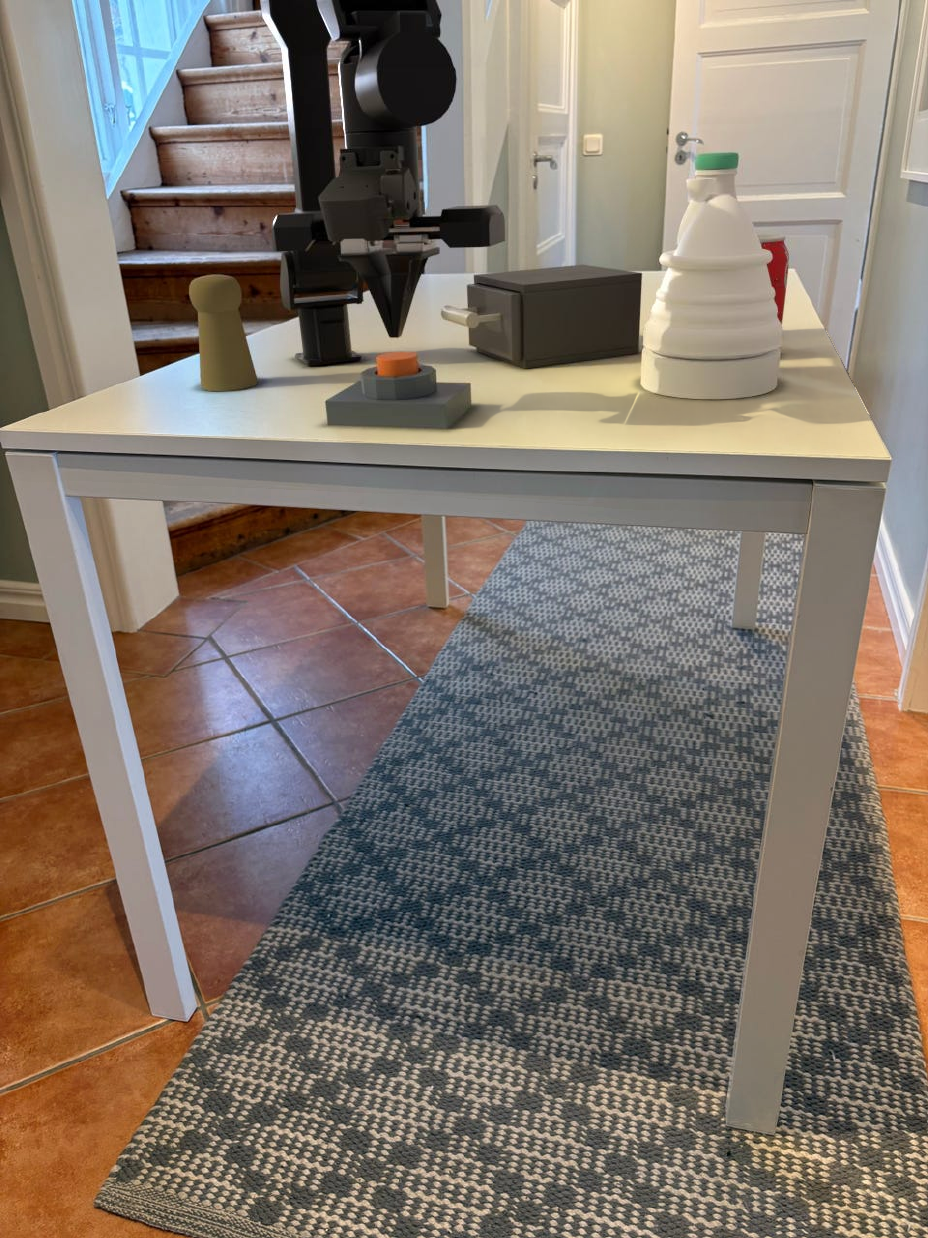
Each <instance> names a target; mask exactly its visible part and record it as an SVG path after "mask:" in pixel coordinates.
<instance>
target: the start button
mask: <svg viewBox="0 0 928 1238" xmlns="http://www.w3.org/2000/svg"><path fill="white" fill-rule="evenodd" d="M375 359H376V367H377V371H378V375H381V376H405V375H412V374H416V373H419V372H418V364H419V358H418V354H417V353H416V352H411V351H393V352H386V353H380V354H378V355H376V358H375Z"/></svg>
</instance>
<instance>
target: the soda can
mask: <svg viewBox="0 0 928 1238" xmlns="http://www.w3.org/2000/svg"><path fill="white" fill-rule="evenodd" d="M757 235H758V238H759V241H760V244H761V247H762V249H765V250H769V251H770V252H771V253H772V257H773V258H772V260H771V262H769V263H767V264H766V265H767V269H768V273H769V277H770V281H771V286H772V287H773V288H774V290H775V297H774V301H775V303H776V305H777V308H778V313H777V318H778V319H779V321H780V323H781V325H782V326H783V320H784V310H785V303H786V295H787V285H788V277H789V276H788V275H789V260H790V254H789V251H788V248H787V246H786V244H785V240H786V236H785V235H779V234H757Z"/></svg>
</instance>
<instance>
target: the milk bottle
mask: <svg viewBox="0 0 928 1238" xmlns="http://www.w3.org/2000/svg"><path fill="white" fill-rule="evenodd" d="M739 158H740V157H739V152H734V151H733V152H731V151H730V152H729V151H728V152H708V153H698V154H696V157H695V163H694V170H695V171H694V172H695V173H694V176H695V179H699V178H716V184H715V188H714V190H713V192H712V194H730V195H731V196H732V197H734V198H735V199H737V200H738V197H737V193H736V187H735V179H736V175H737V174H738V167H739ZM705 203H706V202H701V203H698V202H695V201H694V200H692V198H691V199H690V201H689V204H688V205H687V208H686V210H685V212H684V214H683V217H682V219H681V221H680V224H679V227H678V231H677V237H676V247H675V250H676V249H677V246H678V244H679V242H680V240H681V238H682V236H683V234H684V232H685V230H686V229H687V227H688V225H689V223H690V222H691V220H692V219H693V217H694V216H695V214H696V213H697V212H698V210H699V209H700V208H701V207H702V206H703V205H704V204H705Z"/></svg>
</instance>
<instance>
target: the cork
mask: <svg viewBox="0 0 928 1238" xmlns="http://www.w3.org/2000/svg"><path fill="white" fill-rule="evenodd" d="M188 287H189V288H188V295H189V299H190V302H191V305H192V306H193V307H194V308H195V310H196V311H197V323H198V325H197V326H198V346H199V347H198V348H199V370H200V371H199V372H200V374H199V375H200V389H201V390H204V391H207V392H208V391H209V392H231V391H239V390H244V389H248V388H252V387H254V386H257V385H258V384H259V379H258V375H257V372H256V368H255V364H254V361H253V358H252V354H251V351H250V346H249V343H248V340H247V339H248V338H247V335H246V332H245V328H244V324H243V321H242V318H241V317H242V316H241V313H240V311H239V307H240V305H241V303H242V297H243V296H242V295H243V294H242V289H241V286H240V283H239V282H238V281H237V279H236V278H235V277H233V276H231V275H225V274H207V275H203V276H202V275H201V276H200V277H196V278H194V279H193V280H191V281H190V284H189V286H188Z"/></svg>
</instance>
